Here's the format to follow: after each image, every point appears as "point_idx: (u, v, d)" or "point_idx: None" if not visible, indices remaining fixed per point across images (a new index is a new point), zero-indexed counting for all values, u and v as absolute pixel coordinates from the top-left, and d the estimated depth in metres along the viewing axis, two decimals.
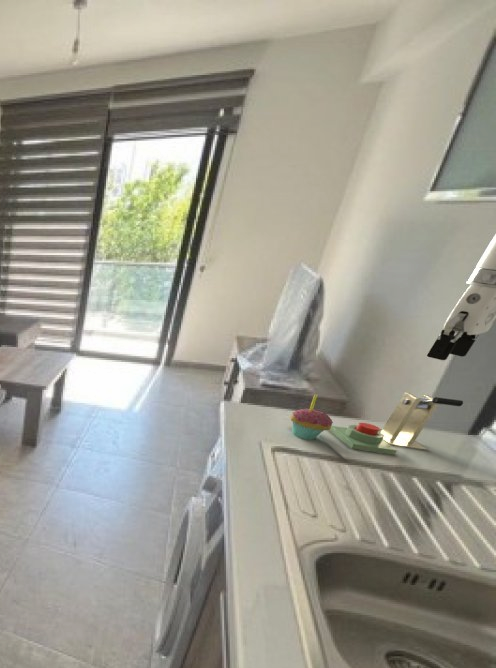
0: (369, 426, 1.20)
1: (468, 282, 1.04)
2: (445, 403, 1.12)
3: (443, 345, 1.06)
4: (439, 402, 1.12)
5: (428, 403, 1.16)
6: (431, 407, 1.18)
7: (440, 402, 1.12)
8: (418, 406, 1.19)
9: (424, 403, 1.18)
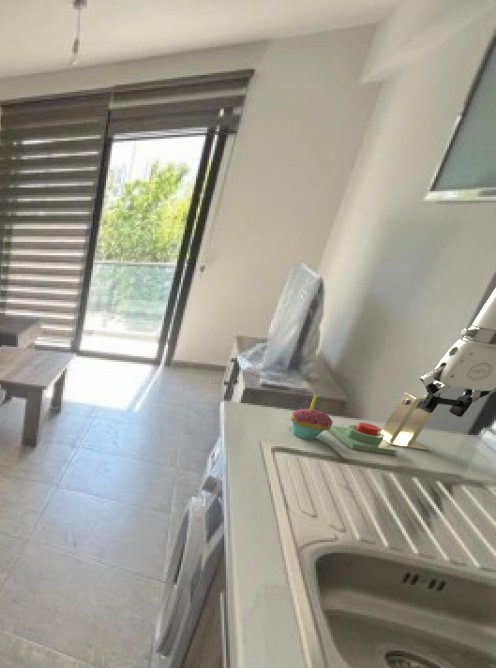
0: (369, 426, 1.20)
1: None
2: (445, 403, 1.12)
3: (429, 398, 1.13)
4: (439, 402, 1.12)
5: None
6: None
7: (440, 402, 1.12)
8: (418, 406, 1.19)
9: None
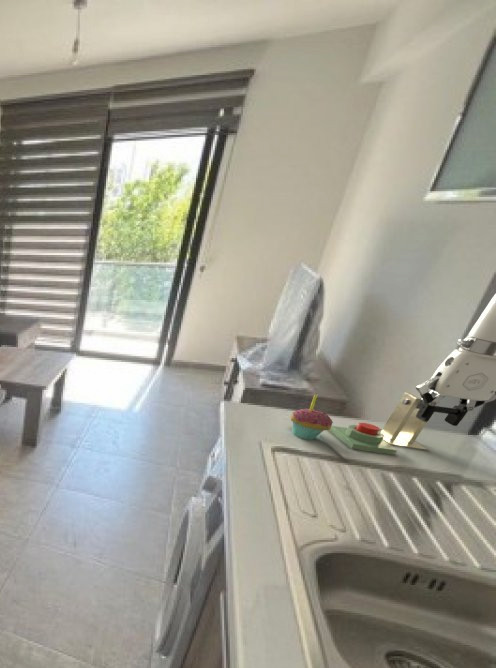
0: (369, 426, 1.20)
1: None
2: (441, 412, 1.12)
3: (424, 407, 1.13)
4: (435, 411, 1.13)
5: None
6: None
7: (436, 411, 1.13)
8: (417, 407, 1.19)
9: None
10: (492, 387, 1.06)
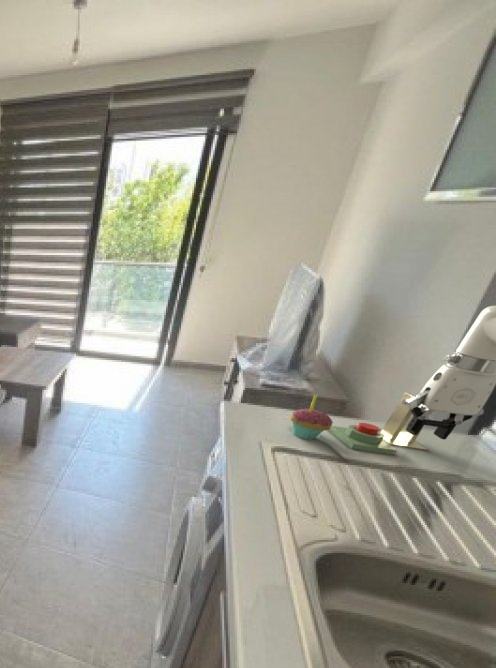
0: (369, 426, 1.20)
1: None
2: (431, 425, 1.15)
3: (414, 421, 1.16)
4: (425, 424, 1.15)
5: None
6: None
7: (427, 425, 1.15)
8: None
9: None
10: (479, 402, 1.08)
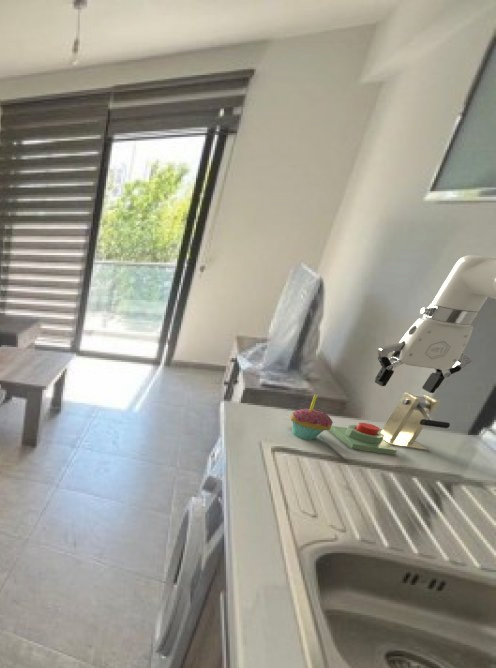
0: (369, 426, 1.20)
1: None
2: None
3: (382, 371, 1.14)
4: (425, 425, 1.15)
5: (422, 413, 1.18)
6: (431, 407, 1.18)
7: (426, 425, 1.15)
8: None
9: (420, 409, 1.18)
10: (454, 355, 1.07)
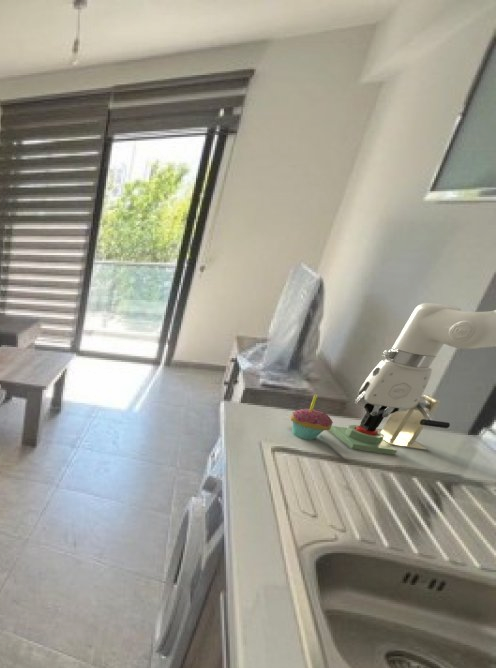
0: None
1: None
2: None
3: (367, 416, 1.19)
4: (425, 425, 1.15)
5: (422, 413, 1.18)
6: (431, 407, 1.18)
7: (426, 425, 1.15)
8: None
9: (420, 409, 1.18)
10: (415, 396, 1.12)
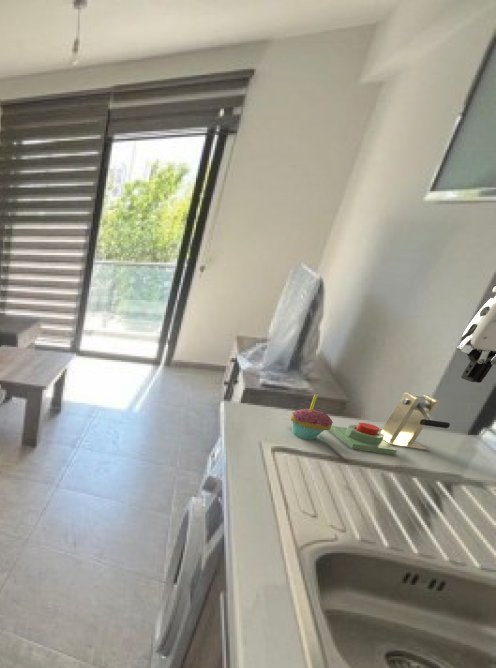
0: (369, 426, 1.20)
1: None
2: None
3: (471, 366, 1.04)
4: (425, 425, 1.15)
5: (422, 413, 1.18)
6: (431, 407, 1.18)
7: (426, 425, 1.15)
8: None
9: (420, 409, 1.18)
10: None
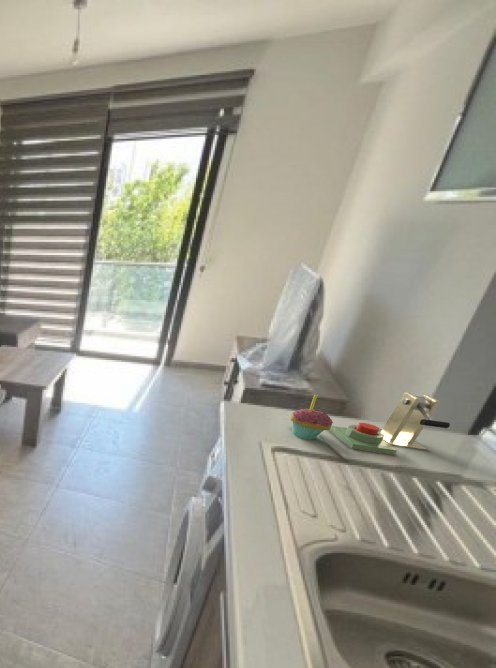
0: (369, 426, 1.20)
1: None
2: None
3: None
4: (425, 425, 1.15)
5: (422, 413, 1.18)
6: (431, 407, 1.18)
7: (426, 425, 1.15)
8: None
9: (420, 409, 1.18)
10: None
